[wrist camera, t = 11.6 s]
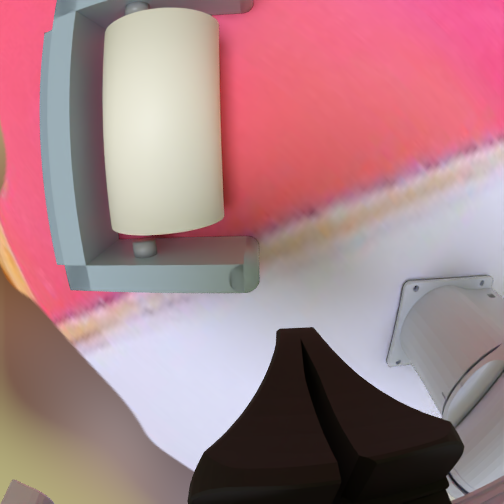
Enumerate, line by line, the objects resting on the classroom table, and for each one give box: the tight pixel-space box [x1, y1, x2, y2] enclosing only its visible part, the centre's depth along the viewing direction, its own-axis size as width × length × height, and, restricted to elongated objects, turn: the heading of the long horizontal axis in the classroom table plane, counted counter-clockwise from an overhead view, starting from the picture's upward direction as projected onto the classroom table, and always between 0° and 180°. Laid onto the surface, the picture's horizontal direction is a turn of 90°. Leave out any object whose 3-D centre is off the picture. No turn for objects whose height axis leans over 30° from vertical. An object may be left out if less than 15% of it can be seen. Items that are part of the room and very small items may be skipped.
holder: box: [40, 0, 260, 293], centre depth 16 cm, size 15×18×5 cm
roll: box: [102, 8, 224, 235], centre depth 15 cm, size 12×6×6 cm, turn 1°
